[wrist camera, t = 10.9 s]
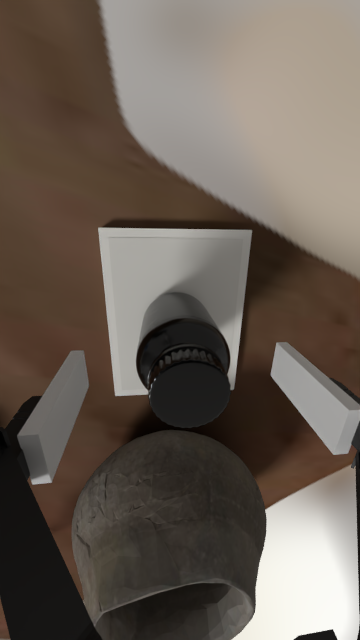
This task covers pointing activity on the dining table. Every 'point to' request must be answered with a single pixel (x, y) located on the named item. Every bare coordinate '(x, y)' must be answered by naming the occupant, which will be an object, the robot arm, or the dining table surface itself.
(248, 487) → the clay pot
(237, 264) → the stone board
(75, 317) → the dining table surface
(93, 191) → the dining table surface
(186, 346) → the supplement bottle
